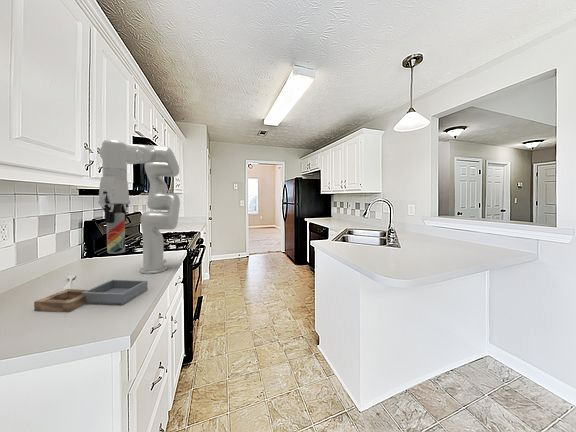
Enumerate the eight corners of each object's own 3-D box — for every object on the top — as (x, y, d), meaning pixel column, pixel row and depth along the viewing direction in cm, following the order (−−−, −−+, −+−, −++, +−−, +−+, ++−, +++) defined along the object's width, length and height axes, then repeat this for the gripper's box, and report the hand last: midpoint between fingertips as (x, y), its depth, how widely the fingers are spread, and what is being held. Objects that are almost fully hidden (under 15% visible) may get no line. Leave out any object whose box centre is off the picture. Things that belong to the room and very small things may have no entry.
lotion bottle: (116, 254, 91) (115, 200, 90) (103, 253, 93) (102, 200, 91) (128, 251, 97) (128, 200, 96) (116, 250, 98) (115, 200, 97)
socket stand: (67, 296, 94) (67, 289, 94) (97, 297, 94) (97, 290, 94) (34, 310, 82) (34, 301, 82) (69, 311, 82) (69, 303, 82)
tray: (112, 288, 104) (112, 279, 103) (147, 290, 103) (147, 280, 103) (81, 303, 89) (81, 292, 88) (122, 305, 88) (122, 294, 88)
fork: (61, 296, 101) (61, 290, 101) (69, 277, 118) (69, 271, 117) (70, 295, 103) (70, 288, 102) (77, 276, 119) (76, 271, 119)
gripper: (121, 176, 102) (122, 219, 103) (86, 171, 84) (87, 223, 86) (139, 176, 101) (139, 220, 103) (107, 171, 84) (108, 224, 85)
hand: (115, 221), depth 94 cm, fingers closed on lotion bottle, 5 cm apart
